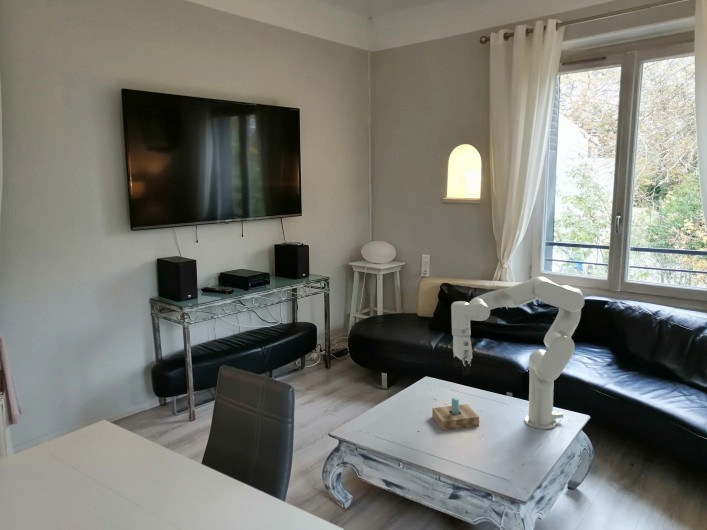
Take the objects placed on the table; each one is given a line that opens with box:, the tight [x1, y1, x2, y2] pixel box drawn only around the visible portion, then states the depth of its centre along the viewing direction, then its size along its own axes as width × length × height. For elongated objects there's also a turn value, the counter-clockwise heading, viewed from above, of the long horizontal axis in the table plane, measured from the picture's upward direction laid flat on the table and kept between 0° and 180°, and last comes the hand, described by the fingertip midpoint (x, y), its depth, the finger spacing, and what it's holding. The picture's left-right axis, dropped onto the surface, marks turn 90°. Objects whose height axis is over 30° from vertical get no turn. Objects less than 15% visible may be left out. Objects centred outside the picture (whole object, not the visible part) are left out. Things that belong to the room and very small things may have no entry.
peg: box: [451, 397, 460, 415], centre depth 230 cm, size 3×3×10 cm
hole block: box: [431, 403, 480, 431], centre depth 231 cm, size 16×13×4 cm
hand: (462, 370), depth 226 cm, fingers open, 9 cm apart
